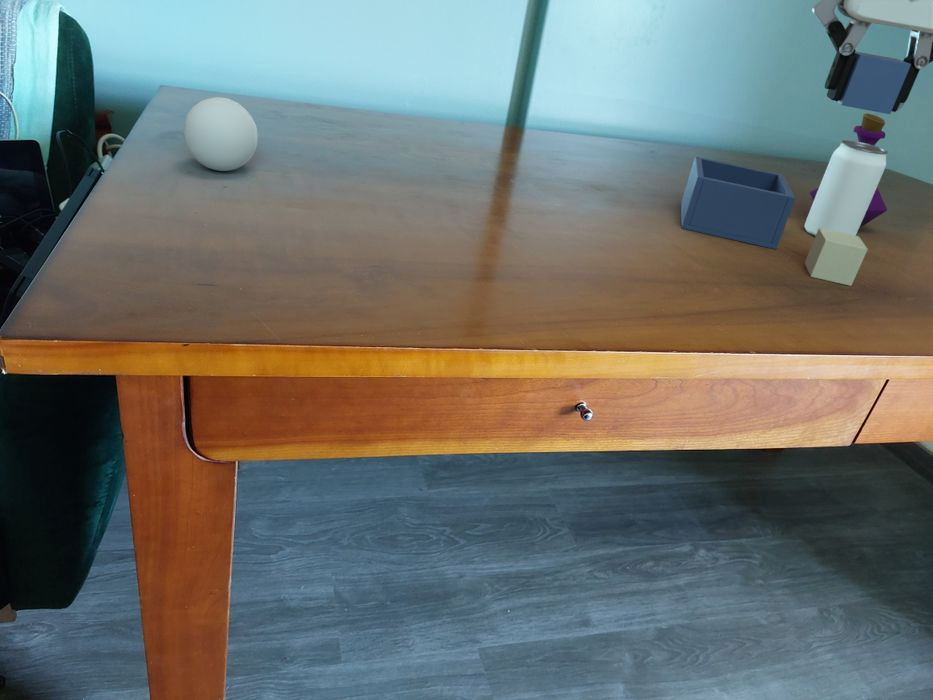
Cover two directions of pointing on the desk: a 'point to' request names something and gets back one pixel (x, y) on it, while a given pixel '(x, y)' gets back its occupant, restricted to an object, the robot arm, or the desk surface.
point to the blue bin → (736, 202)
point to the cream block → (835, 256)
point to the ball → (220, 134)
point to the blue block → (874, 83)
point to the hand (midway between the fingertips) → (861, 101)
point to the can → (846, 188)
